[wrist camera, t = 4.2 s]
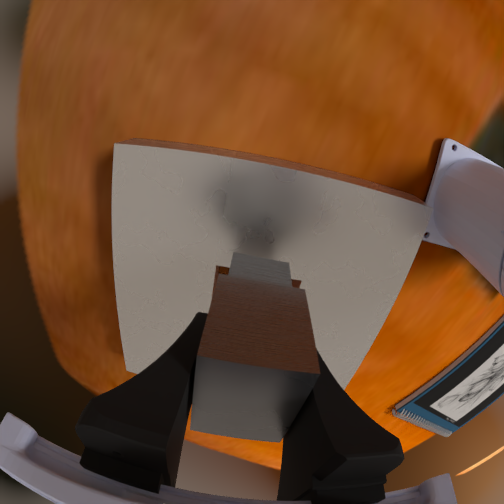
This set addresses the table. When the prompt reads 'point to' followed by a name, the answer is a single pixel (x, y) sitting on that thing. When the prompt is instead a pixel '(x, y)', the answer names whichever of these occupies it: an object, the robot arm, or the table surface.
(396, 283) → the grey square slab
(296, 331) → the grey block
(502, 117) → the table surface
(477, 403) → the sketchbook
